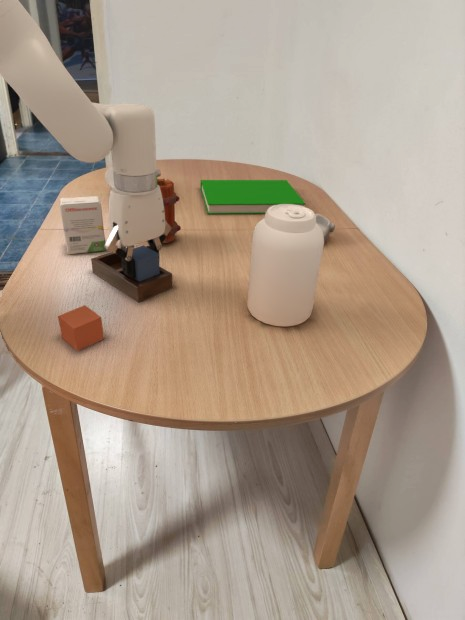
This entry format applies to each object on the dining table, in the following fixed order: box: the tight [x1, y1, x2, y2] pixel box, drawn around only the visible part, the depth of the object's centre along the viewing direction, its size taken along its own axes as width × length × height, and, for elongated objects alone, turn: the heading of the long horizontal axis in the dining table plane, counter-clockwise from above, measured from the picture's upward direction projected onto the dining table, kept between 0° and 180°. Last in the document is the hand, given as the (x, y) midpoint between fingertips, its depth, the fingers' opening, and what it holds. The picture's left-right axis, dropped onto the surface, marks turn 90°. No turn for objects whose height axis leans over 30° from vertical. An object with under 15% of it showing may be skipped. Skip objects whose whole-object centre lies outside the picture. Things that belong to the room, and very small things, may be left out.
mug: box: [157, 178, 182, 244], centre depth 106 cm, size 15×8×15 cm, turn 152°
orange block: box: [57, 304, 105, 352], centre depth 76 cm, size 5×5×4 cm
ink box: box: [59, 195, 107, 255], centre depth 102 cm, size 8×5×12 cm, turn 109°
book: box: [200, 179, 306, 215], centre depth 138 cm, size 22×28×3 cm
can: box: [246, 204, 325, 327], centre depth 82 cm, size 12×12×20 cm
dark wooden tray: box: [90, 247, 173, 303], centre depth 93 cm, size 8×16×3 cm, turn 46°
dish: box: [315, 213, 336, 243], centre depth 115 cm, size 14×14×5 cm
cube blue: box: [125, 244, 160, 282], centre depth 89 cm, size 5×5×4 cm
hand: (141, 270), depth 90 cm, fingers closed on cube blue, 5 cm apart
